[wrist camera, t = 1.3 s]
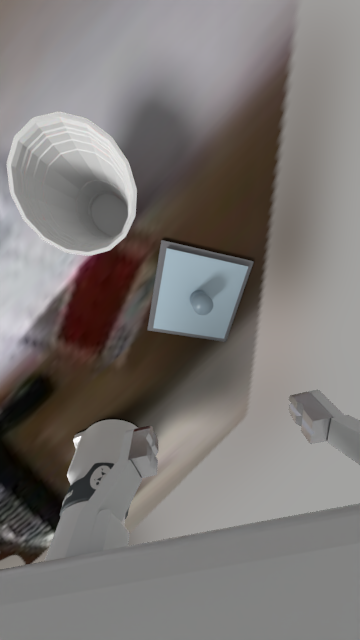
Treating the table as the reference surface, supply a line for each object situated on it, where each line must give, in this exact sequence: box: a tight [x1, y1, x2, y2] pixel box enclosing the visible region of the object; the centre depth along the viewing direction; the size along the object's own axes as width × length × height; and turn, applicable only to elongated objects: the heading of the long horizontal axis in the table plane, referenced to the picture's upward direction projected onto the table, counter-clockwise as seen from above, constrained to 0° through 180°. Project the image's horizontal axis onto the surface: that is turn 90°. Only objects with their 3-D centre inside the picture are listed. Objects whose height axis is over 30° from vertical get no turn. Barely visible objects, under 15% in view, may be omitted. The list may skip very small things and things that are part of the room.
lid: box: [153, 248, 248, 339], centre depth 30 cm, size 14×14×5 cm
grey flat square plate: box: [148, 240, 254, 342], centre depth 32 cm, size 16×16×1 cm
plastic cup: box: [6, 111, 137, 256], centre depth 21 cm, size 11×11×12 cm
